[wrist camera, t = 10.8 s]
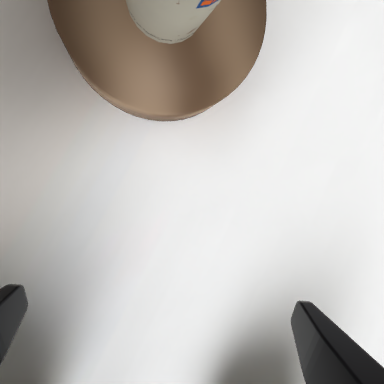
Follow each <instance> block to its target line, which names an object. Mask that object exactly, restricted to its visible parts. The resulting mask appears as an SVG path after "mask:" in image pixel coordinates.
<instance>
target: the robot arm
mask: <svg viewBox="0 0 384 384" xmlns="http://www.w3.org/2000/svg"><path fill="white" fill-rule="evenodd" d="M27 307H28V301H27V297H26V293H25V290H24V287H23V286H22V285H17V284H8V285H6V286H4V287H3V288H1V289H0V365H1V363H2V361H3V359H4V357H5V355H6V353H7V351H8V349H9V347H10V345H11V343H12V341H13V338H14V336H15V334H16V332H17V330H18V328H19V326H20V324H21V321H22V319H23V317H24V315H25V313H26V311H27ZM291 326H292V330H293V334H294V339H295V343H296V347H297V351H298V356H299V360H300V364H301V368H302V372H303V376H304V379H305V382H306V384H384V368H383V367H382V366H381V365H380V364H379V363H378V362H377V361H376V360H375V359H373V358H372V357H371V356H370V355H369V354H368V353H367V352H366V351H365V350H363V349H362V348H361V347H360V346H359V345H358V344H357V343H356V342H355V341H354V340H352V339H351V338H350V337H349V336H348V335H347V334H346V333H345V332H344V331H342V330H341V329H340V328H339V327H338V326H337V325H336V324H335V323H334V322H333V321H331V320H330V319H329V318H328V317H327V316H326V315H325V314H324V313H323V312H321V311H320V310H319V309H318V308H317V307H316V306H315V305H314V304H313V303H311V302H309V301H298V302H297V303H296V305H295V308H294V311H293V314H292V317H291Z"/></svg>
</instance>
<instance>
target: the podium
mask: <svg viewBox="0 0 384 384" xmlns="http://www.w3.org/2000/svg"><path fill="white" fill-rule="evenodd" d="M47 1H48V5H49V9H50V13H51V16H52V19H53V21H54V24H55V27H56V29H57V32H58V34H59V35H60V37H61V39H62V41H63V43H64V45H65V47H66V49H67V51H68V53H69V55H70V56H71V58H72V60H73V62H74V64H75V66H76V68H77V69H78V70H79V72H80V73H81V75H82V76H83V78H84V79H85V80H86V81H87V83H88V84H89V85H90V86H91V87H92V88H93V89H94V90H95V91H96V92H97V93H98V94H99V95H100V96H101V97H103V98H104V99H105V100H107V101H108V102H109V103H111V104H112V105H114V106H115V107H117V108H119V109H121V110H123V111H124V112H126V113H129V114H132V115H134V116H137V117H140V118H144V119H148V120H155V121H176V120H182V119H186V118H190V117H193V116H196V115H198V114H200V113H202V112H204V111H206V110H207V109H209V108H210V107H212V106H213V105H215V104H216V103H218V102H219V101H221V100H222V99H224V98H225V97H227V96H228V95H229V94H230V93H231V92H233V91H234V90H235V89H236V88H237V87H238V86H239V85H240V84H241V83H242V81H243V80H244V79H245V78H246V76H247V75H248V73H249V72H250V70H251V69H252V67H253V65H254V63H255V61H256V59H257V57H258V55H259V52H260V49H261V46H262V43H263V38H264V33H265V26H266V0H221V1H220V2H219V4H218V5H217V6H216V7H215V8H214V10H213V11H212V12H211V13H210V14H209V16H208V17H207V18H206V19H205V20H204V22H203V23H202V24H201V25H200V26H199V28H198V29H197V30H196V31H195V32H194V34H193V35H192V36H191V37H189V38H187V39H186V40H184V41H182V42H178V43H173V44H168V43H162V42H158V41H156V40H154V39H152V38H150V37H148V36H146V35H145V34H144V33H143V32H142V31H141V30H140V29H139V28H138V27H137V26H136V24H135V22H134V21H133V19H132V18H131V16H130V14H129V10H128V7H127V3H126V0H47Z"/></svg>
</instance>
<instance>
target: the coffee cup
mask: <svg viewBox="0 0 384 384" xmlns="http://www.w3.org/2000/svg"><path fill="white" fill-rule="evenodd" d="M220 1H221V0H126V3H127V7H128V10H129V14H130V16H131V18H132V19H133V21H134V22H135V24H136V26H137V27H138V28H139V29H140V30H141V31H142V32H143V33H144V34H145V35H146V36H148V37H150V38H152V39H154V40H156V41H158V42H162V43H168V44H173V43H178V42H182V41H184V40H186V39H187V38H189V37H191V36H192V35H193V34H194V32H195V31H196V30H197V29H198V28H199V26H200V25H201V24H202V23H203V22H204V20H205V19H206V18H207V17H208V16H209V14H210V13H211V12H212V11H213V10H214V8H215V7H216V6H217V5H218V4H219V2H220Z"/></svg>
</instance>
